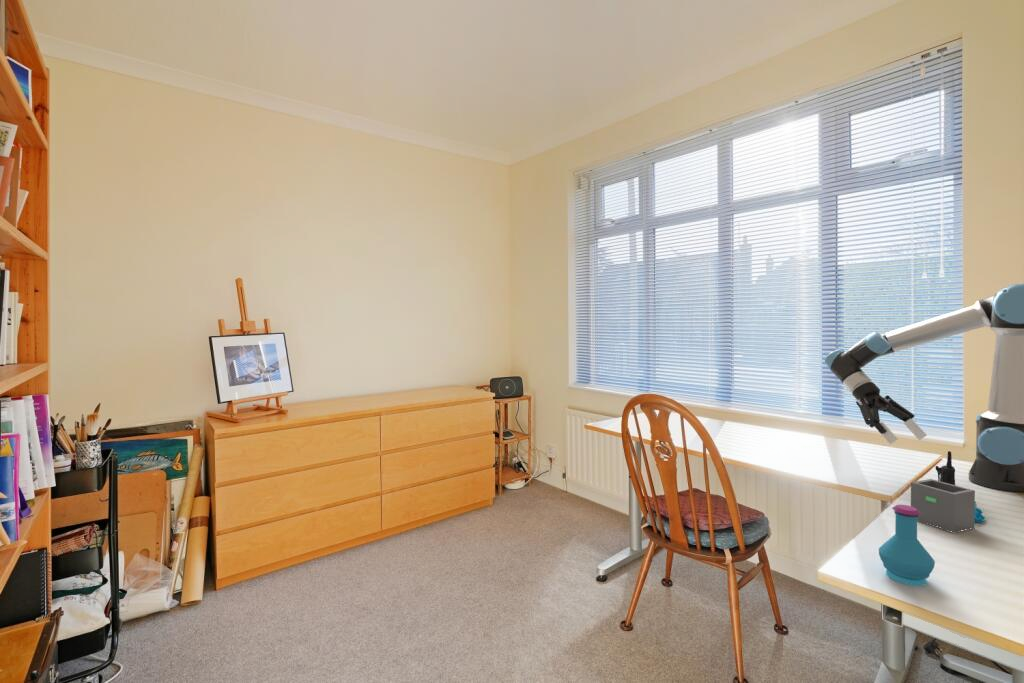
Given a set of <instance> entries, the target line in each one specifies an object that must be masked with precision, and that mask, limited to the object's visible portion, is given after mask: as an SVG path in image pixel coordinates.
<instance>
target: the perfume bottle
mask: <svg viewBox="0 0 1024 683" xmlns="http://www.w3.org/2000/svg"><path fill="white" fill-rule="evenodd" d="M892 510H893V511H894V514H895V520H894V521H895V522H894V523H895V524H894V525H895V526H894V527H895V528H894V530H895V534H894V535H892V536H891V537H890V538H889V539H888V540H886V541H885V542H884V543H883V544H881V546H879V548H878V555H879V558H880V560H881V561H882V565H883V567H884V569H885V574H886V576H888V577H889V578H890V579H892V580H894V581H897V582H899V583H902V584H903V585H904V584H905V585H910V586H917V587H918V586H919V587H920V586H924V585H926V584H927V579H928V578H930V575H931V574H932V573H933V570H934V568H935V564H936V561H935V559H934V558H933V557H932V556H931V554H930V553H929V552H928V551H927V549H926V548H925V546H924V545H923V544H922V543H921V541H920V540H919V539H918V521H917V518H918V515H919V514H921V513H920V512H919V511H918V510H917V509H916V508H914V507H912V506H911V505H907V504H896V505H895V506H893V507H892Z"/></svg>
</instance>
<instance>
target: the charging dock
mask: <svg viewBox="0 0 1024 683" xmlns="http://www.w3.org/2000/svg"><path fill="white" fill-rule="evenodd" d="M975 496H976V491H975V490H974V489H971V488H967V487H963V486H960V485H959V486H958V485H956V484H955V485H952V484H948V483H944V482H940V481H938V479H933V478H928V479H922V480H918V481H917V480H916V481H912V482H910V506H912V507H914V508H916V509H917V510H918V511H919V512H920V513H921V514H919V515H918V518H917V520H919V521H918V522H920V521H922V522H921V523H923V522H925V523H924V524H926V523H928V524H927V525H929V524H931V525H930V526H932V525H934V526H933V527H935V526H938V527H941V528H943V529H942V530H944V529H946V530H945V531H947V530H949V531H952V532H957V533H959V532H958V531H961V530H965V529H970V528H974V529H975V521H974V518H975V504H976V503H975V501H976V497H975ZM938 527H937V528H938ZM941 528H940V529H941ZM970 530H971V529H970ZM949 531H948V532H949ZM965 531H966V530H965ZM952 532H951V533H952ZM961 532H962V531H961Z"/></svg>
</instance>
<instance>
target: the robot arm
mask: <svg viewBox="0 0 1024 683" xmlns="http://www.w3.org/2000/svg"><path fill="white" fill-rule="evenodd" d="M984 327H986V328H989V329H990V330H991V331H993V332H994V333H995V335H996V336H995V342H994V344H995V345H994V352H993V353H994V354H993V361H992V369H991V378H990V387H989V395H988V406H987V410H986V411H985V412H982V413H979V414H977V415H976V420H975V424H976V437H975V439H976V440H975V441H976V442H975V444H976V445H975V446H976V447H975V452H976V453H975V458H974V461H973V462H972V466H971V467H970V469H969V472H968V481H969V482H971V483H973V484H977V485H979V486H982V487H986V488H991V489H996V490H1000V491H1008V492H1017V493H1018V492H1019V493H1024V283H1014V284H1011V285H1008V286H1005V287H1003V288H1002V289H1000V290H999V291H997V293H995V294H993V295H990V296H987V297H986V298H985V297H984V298H983V299H979V300H976V302H975V303H974V304H973V305H971V306H967V307H963V308H961V309H958V310H955V311H951V312H949V313H944V314H942V315H938V316H936V317H932V318H929V319H925V320H922V321H920V322H916V323H913V324H909V325H906V326H904V327H903V326H902V327H900V328H897V329H894V330H891V331H888V332H885V333H881V334H880V333H879V332H876V331H875V332H872V333H869V334H868V335H866V336H865V337H864V338H862V339H861V340H859V341H858V342H856V343H855V344H854V345H853V346H852V347H850V348H848V349H847V350H843V349H840V348H839V349H835V350H833V351H830V353H828V354H827V355H826V356H825V358H824V363H825V364H826V366H827V367H828V368H829V370H830V372H832V373H833V375H835V376H836V378H837V379H838V380H839V381H840V382H841V383H842V384H843V385H844V386H845V387H846V389H847V390H848V391H849V393H851V395H852V396H853V397H854V398H855V400H856V402H855V404H857V406H858V408H859V410H860V413H861V415H862V418H863V420H864V423H865V424H866V425H867V426H868V427H870V428H875V429H876V431H878V432H879V433H880V434H881V435H882V437H884V439H885V440H886V441H887V443H889V445H891V444H893V443H894V442H896V441H897V440H898V438H897V436H896V435H895V434H894V433H893V431H892V430H891V429H890V428H889V427H888V426H887V425H886V424H885V423H884V421H881V419H880V414H879V413H880V411H881V412H884V413H889V414H890V415H892V416H894V417H895V418H896V419H898V420H900V421H902V422H903V425H904V426H905V427H907V429H908V430H909V432H911V433H912V434H913V436H915V437H916V438H917V440H918V441H920V440H922V439H924V438H925V437H927V434H926V432H925V431H924V430H923V429H922V428H921V427H920V426H919V425H918V424H917V422H915V420H914V418H915V414H914V413H913V412H911V411H909V410H908V409H907V408H906V407H904V406H902V405H901V404H899V402H896V401H895V400H894V399H892V397H891V396H889V395H886V396H884V397H883V396H881V394H880V392H881V389H880V388H879V387H878V386H877V385H876V384H875V382H872V381H873V380H872V379H871V378H870V377H869V376H868V375H867V374H866V373H865V372H864V371H863V370H862V368H863V367H865V366H866V365H868V364H870V363H872V361H874V360H876V359H877V358H879V357H883V356H887V355H890V354H892V353H896V352H899V351H904V350H908V349H911V348H914V347H917V346H921V345H924V344H927V343H931V342H935V341H938V340H942V339H945V338H949V337H953V336H956V335H960V334H963V333H967V332H969V331H970V332H971V331H972V330H973V331H974V330H977V329H981V328H984Z"/></svg>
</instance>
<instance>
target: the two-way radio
mask: <svg viewBox="0 0 1024 683" xmlns="http://www.w3.org/2000/svg"><path fill="white" fill-rule="evenodd" d="M952 458H953V457H952V451H951V450H949V451H947V456H946V461H947V462H946V464H945V465H942V466H938V465H936V466H935V470H936V472H937V481H940V482H944V483H948V484H952V485H956V478H955V477H956V468H955V467H954V466H952V463H953V462H952V461H953V460H952Z"/></svg>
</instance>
